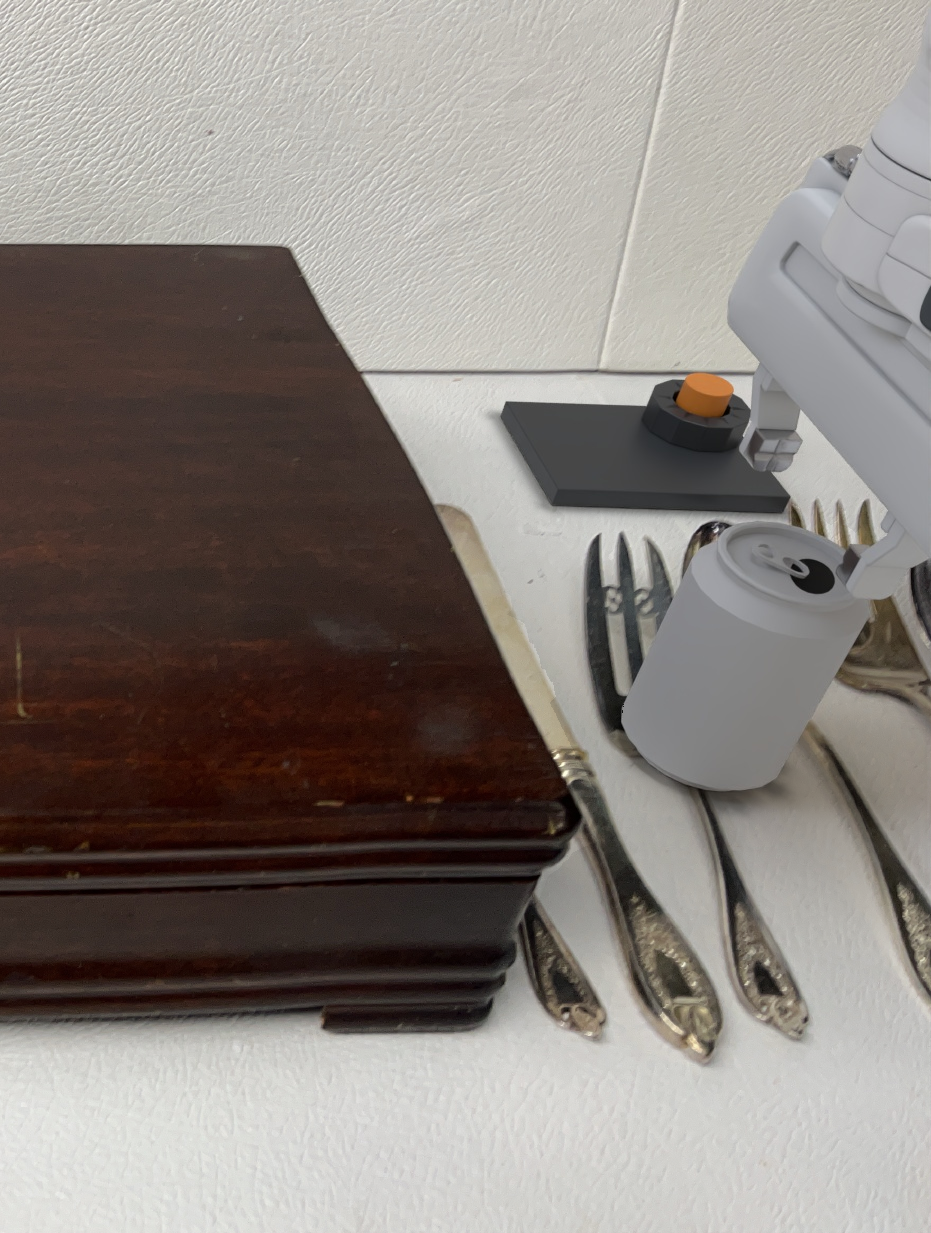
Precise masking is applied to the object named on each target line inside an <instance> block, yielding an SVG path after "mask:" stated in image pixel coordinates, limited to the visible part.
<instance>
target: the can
mask: <svg viewBox="0 0 931 1233" xmlns="http://www.w3.org/2000/svg"><path fill="white" fill-rule="evenodd" d="M846 550H847V549H845V548H844V547H843V546H841V545H840V544H838V543H836V542H834V541H832V540H831V539H829V538H827V537H826V536H824V535H821V534H818V533H816V532H813V531H811V530H808V529H806V528H803V527H800V526H797V525H796V526H795V525H791V524H787V523H782V522H778V521H777V522H775V521H763V520H753V521H746V522H740V523H735V524H733V525H732V526H729V527H727V528H725V529H724V530H723V531H722V532H721V533H720V535H719V536H718V537H717V540H715V541H712V542H710V543H708V544H705V545H704V546H701V547H700V548H699V549H698V550H697V551H696V552H695V554H694V555H693V556H692V558H691V560H690V562H689V564H688V566H687V569H686V570H685V572H684V574H683V577H682V579H681V581H680V583H679V585H678V587H677V589H676V591H675V594H674V596H673V598H672V600H671V602H670V604H669V606H668V608H667V611H666V613H665V615H664V616H663V619H662V620H661V621H662V622H661V624H660V626H659V628H658V630H657V632H656V633H655V637H654V638H653V640H652V643H651V645H650V647H649V649H648V651H647V653H646V656H645V658H644V659H643V662H642V664H641V666H640V668H639V670H638V672H637V675H636V676H635V679H634V681H633V683H632V685H631V687H630V690H629V691H628V694H627V696H626V698H625V701H624V702H623V704H624V705H622V707H621V711H622V710H623V713H622V712H621V721H620V722H621V725H622V727H623V729H624V732H625V734H626V736H627V738H628V740H629V741H630V742H631V743H632V744H633V745H634V747H635V748H636V751H637V752H638V753H639V754H640V755H641V757H643V759H644V760H645V761H646V762H647V763H648V764H649V765H651V767H653V768H655V769H656V770H657V771H659V772H660V773H661V774H663V775H664V776H666V777H668V778H670V779H673V780H675V781H677V782H679V783H681V784H683V785H686V786H689V787H693V788H697V789H701V790H704V791H714V792H731V791H745V790H751V789H758V788H763V787H764V786H765V785H768V784H770V783H771V782H772V781H775V780H776V779H777V778H778V777H779V774H780V773H781V771H782V769H783V767H784V766H785V765H786V763H787V760H788V759H789V757H790V755H791V754H792V751H793V750H794V748H795V746H796V745H797V743H798V741H799V739H800V738H801V736H802V734H803V733H804V731H805V729H806V728H807V725H808V724H809V722H810V721H811V718H812V717H813V715H814V713H815V712H816V710H817V708H818V707H819V705H820V703H821V701H822V699H823V698H824V696H825V695H826V692H827V691H828V689H829V688H830V685H831V684H832V682H833V680H834V679H835V677H836V675H837V673H838V671H840V669H841V666H842V665H843V663H844V661H845V660H846V658H847V656H848V654H849V652H850V651H851V649H852V647H853V646H854V644H855V642H856V640H857V638H858V637H859V635H860V633H861V631H863V629H864V626H865V625H866V623H867V621H868V619H869V618H870V609H869V604H868V599H856V598H854V597H853V596H852V595H851V594H850V592H849V591H848V590H847V588H846V587H845V586H844V585H843V583H842V582H841V580H840V579H839V578H838V576H837V575H836V568H837V566H838V565H839V564H841V563H842V562H843V556H844V554H845V552H846ZM623 706H624V707H623Z"/></svg>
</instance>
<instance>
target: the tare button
mask: <svg viewBox="0 0 931 1233" xmlns="http://www.w3.org/2000/svg"><path fill="white" fill-rule="evenodd" d="M684 380H685V381H684V383H683V385H682V388H681V390H680V392H679V395H678V397H677V399H676V404H677V405H678V406H679V407H681V408H682V409H684V410H686V411H688V412H689V413H692V414H695V415H699V416H703V417H717V418H720V417H721V416H722V415H723V414H724V412H725V410H726V407H727V405H728V403H729V401H730V399H731V396H732V394H734V391H735V388H734V386H733V384H731V383H730V382H729V380H726V379H725V378H723V377H722V376H721V377H720V376H718V375H715V374H712V373H708V372H693V373H690V374H688V375H687V376H685V378H684Z"/></svg>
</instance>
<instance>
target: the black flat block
mask: <svg viewBox="0 0 931 1233" xmlns="http://www.w3.org/2000/svg"><path fill="white" fill-rule="evenodd" d="M684 381H685V379H668V380H666V381H663V382H660V383H657V384H655V385H654V386H653V389H652V391H651V394H650V396H649V399H648V401H647V404H646V405H635V404H631V405H630V404H606V403H605V404H602V403H572V402H570V403H569V402H541V401H515V400H514V401H513V400H510V401H509V400H506V401H505V402H504V405H503V408H502V410H501V414H500V418H501V420H502V422H503V423H504V425H505V427H506V428H507V430H508V432H509V434H510V435H511V437H512V439H513V440H514V442H515V444H516V446H517V447H518V449H519V451H520V453H521V455H522V456H523V458H524V459H525V461H526V463H527V465H528V466H529V468H530V470H531V471H532V473H533V475H534V477H535V478H536V480H537V481H538V484H539V485H540V487H541V489H542V491H543V492H544V494H545V495H546V497H547V499H548V500H549V502H550V504H551V505H552V506H567V507H597V508H598V507H599V508H600V507H601V508H626V509H627V508H630V509H662V510H663V509H664V510H691V511H692V510H693V511H722V512H723V511H724V512H748V513H749V512H753V513H757V512H758V513H784V512H785V510H786V508H787V506H788V504H789V502H790V500H791V499H792V498H791V497H792V496H791V495H790V494H789V492H788V491H787V490H786V488H785V487H784V486H783V485H782V484H781V482H780V481H779V479H778V478H777V477H776V476H775V475H774V474H773V473H774V472H771V471H768V470H766V471H764V472H759V471H756V470H754V469H753V468H752V467H751V465H750V464H749V463H748V462H747V460H746V459H745V458H744V456H743V455H742V454H741V453H740V451H739V447H740V445H741V442H742V440H743V438H744V435H745V433H746V429H747V428H748V425H749V424H750V421H751V420H750V414H751V407H749V406H748V405H747V403H746V402H745V400H743V398H741V397H740V396H738V395H736V394H735V393H733V394H732V396H731V399H730V401H729V403H728V405H727V407H726V410H725V412H724V414H723V415H722V416H721V417H720V418H717V417H703V416H699V415H695V414H692V413H689V412H688V411H686V410H684V409H682V408H681V407H679V406H678V405H677V404H676V399H677V397H678V395H679V392H680V390H681V388H682V385H683V383H684Z"/></svg>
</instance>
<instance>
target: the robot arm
mask: <svg viewBox="0 0 931 1233" xmlns="http://www.w3.org/2000/svg"><path fill="white" fill-rule="evenodd" d="M736 277H737V278H736V279H735V281H734V283H733V285H732V287H731V289H730V292H729V295H728V300H727V313H726V321H727V325H728V327H729V328H730V330H731V331H732V332H733V333H734V334H735V336H736V337H737V338H738V339H739V340H740V341H741V343H742V344H743V345H744V346H745V347H746V348H747V350H749V352H750V353H751V354H752V355H753V356H754V357H755V358H756V359H757V361H758V362H759V363H758V365H757V368H756V370H755V372H754V374H753V376H752V381H751V382H752V383H751V398H750V399H751V400H750V409H751V414H750V420H749V421H750V422H749V424H748V425H749V426H748V427H747V430H746V431H745V433H744V435H743V437H744V438H743V440H742V442H741V445H740V447H739V451H740V453H741V454H742V455H743V456H744V458H745V459H746V460H747V462H748V463H749V464H750V465H751V467H752V468H753V469H754V470H756V471H759V472H764V471H766V470H768V471H771V472H772V473H782V472H785V471H786V470H787V469H789V468H790V467H791V466H792V464H793V462H794V457H795V455H796V454H797V453H798V452H799V450H800V448H801V446H802V444H803V442H804V439H802V437H801V436H800V435H799V433H798V432H797V428H798V424H799V418H800V414H801V412H802V413H803V414H804V415H805V416H806V417H807V418H808V420H809V421H810V422H811V423H812V424H813V425H814V427H815V428H816V429H817V430H818V432H820V433H821V435H822V436H823V437H824V438H825V439H826V441H828V443H829V445H831V446H832V447H833V449H834V450H835V451H836V452H837V453H838V454H839V455H840V456H841V458H842V459H843V460H844V461H845V463H847V464H848V466H849V467H850V468H851V470H853V471H854V473H855V474H856V475H857V476H858V477H859V479H861V481H862V482H863V483H864V484H865V486H866V487H867V488H868V489H869V490H870V491H871V492H872V493H873V495H874V496H875V497H876V498H877V499H878V500H879V502H880V503H881V505H883V506H884V507H885V508H886V510H887V511H886V513H885V515H884V516H883V519H882V521H881V522H880V529H881V530H882V531H883V532H884V533H885V534H886V535H885V536H884V537H883V538H881V539H879V540H878V541H877V542H875V543H873V544H872V545H868V544H865V543H864V544H863V543H862V544H861V543H850V544H849V545H848V547H847V549H845V550H846V552H845V554H844V556H843V562H842V563H841V564H839V565H838V566H837V568H836V575H837V576H838V578H839V579H840V580H841V582H842V583H843V585H844V586H845V587H846V588H847V590H848V591H849V592H850V594H851V595H852V596H853V597H854V598H856V599H867V600H876V601H877V600H878V601H881V600H886V599H887V598H889V597H891V596H892V595H894V593H895V592H896V590H897V588H898V587H899V585H900V584H901V582H902V580H903V578H904V577H905V575H906V573H907V572H908V570H909V569H912V568H914V567H916V566H918V565H920V564H922V563H924V562H926V561H929V560H931V5H930V7H929V9H928V11H927V13H926V15H925V18H924V22H923V25H922V33H921V42H920V46H919V52H918V56H917V58H916V62H915V64H914V67H913V69H912V72H911V73H910V75H909V78H908V79H907V81H906V83H905V84H904V86H903V87H902V89H901V90H900V91H899V92H898V94H897V95H896V96H895V98H894V99H893V100H892V101H891V102H890V103H889V104H888V105H887V106H886V107H885V109H884V110H883V111H882V113H881V114H880V115H879V117H878V119H877V120H876V121H875V124H874V126H873V127H872V129H871V132H870V134H869V135H868V138H867V140H866V142H865V144H864V146H863V147H860V146H857V145H855V144H846V145H843V146H841V147H840V148H834V149H831V150H829V151H828V152H826V153H824V155H822V156H819V157H817V158H816V159H814V161H813V162H812V163H811V165H810V166H809V169H808V170H807V172H806V174H805V176H804V179H803V180H802V183H801V185H800V188H797V189H795V190H793V191H791V192H790V193H789V194H788V195H786V197H785V198H783V200H782V201H781V202H780V203H779V205H778V206H777V208H776V209H775V210H774V211H773V213H772V215H771V216H770V218H769V219H768V221H767V223H766V225H765V226H764V228H763V229H762V231H761V233H760V235H759V236H758V238H757V240H756V241H755V244H754V245H753V247H752V249H751V251H750V252H749V254H748V256H747V257H746V260H745V262H744V263H743V265H742V267H741V269H740V271H739V273H738V275H737V276H736Z"/></svg>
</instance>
